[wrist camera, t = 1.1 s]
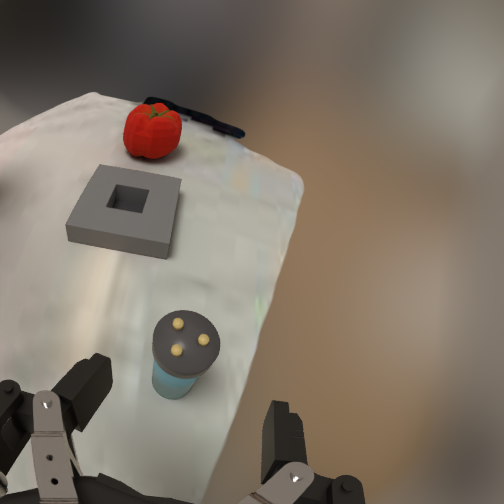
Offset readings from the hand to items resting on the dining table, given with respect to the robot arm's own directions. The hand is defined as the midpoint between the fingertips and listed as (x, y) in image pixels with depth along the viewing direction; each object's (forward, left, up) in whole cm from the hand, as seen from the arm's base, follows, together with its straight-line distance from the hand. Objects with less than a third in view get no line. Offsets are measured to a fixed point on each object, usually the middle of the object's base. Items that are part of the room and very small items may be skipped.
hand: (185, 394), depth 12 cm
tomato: (-10, +54, -20) cm, 58 cm away
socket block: (-9, +32, -19) cm, 38 cm away
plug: (+1, +6, -19) cm, 20 cm away
